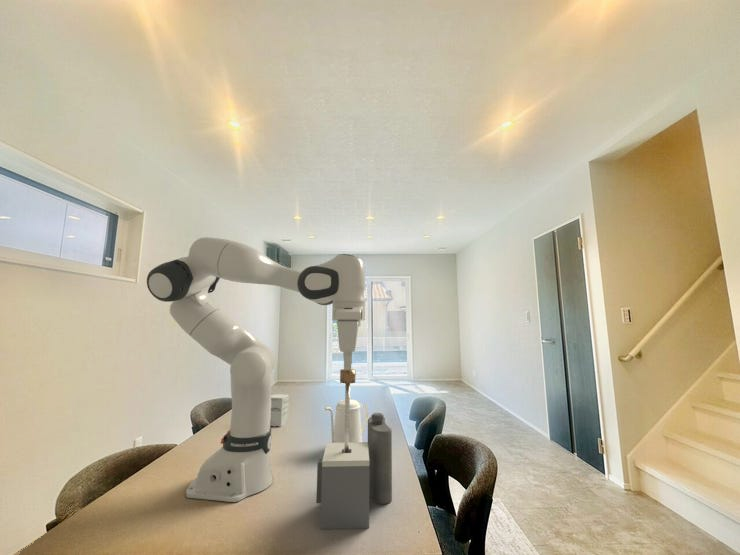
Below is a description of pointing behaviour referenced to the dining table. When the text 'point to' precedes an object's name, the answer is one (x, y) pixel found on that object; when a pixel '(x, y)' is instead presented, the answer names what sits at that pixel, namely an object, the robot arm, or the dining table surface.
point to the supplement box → (279, 409)
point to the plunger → (347, 401)
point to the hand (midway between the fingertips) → (348, 366)
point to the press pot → (344, 486)
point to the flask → (380, 459)
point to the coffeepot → (354, 421)
